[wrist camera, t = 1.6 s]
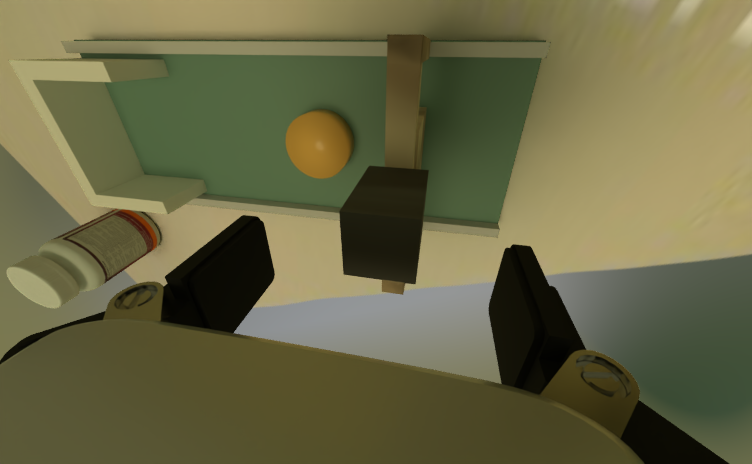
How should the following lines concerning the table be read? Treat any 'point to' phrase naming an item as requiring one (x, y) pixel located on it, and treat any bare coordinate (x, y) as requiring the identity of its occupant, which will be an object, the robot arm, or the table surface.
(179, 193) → the pitch
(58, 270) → the pill bottle
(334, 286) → the table surface
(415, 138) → the striker
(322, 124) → the yellow domed round part
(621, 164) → the table surface
